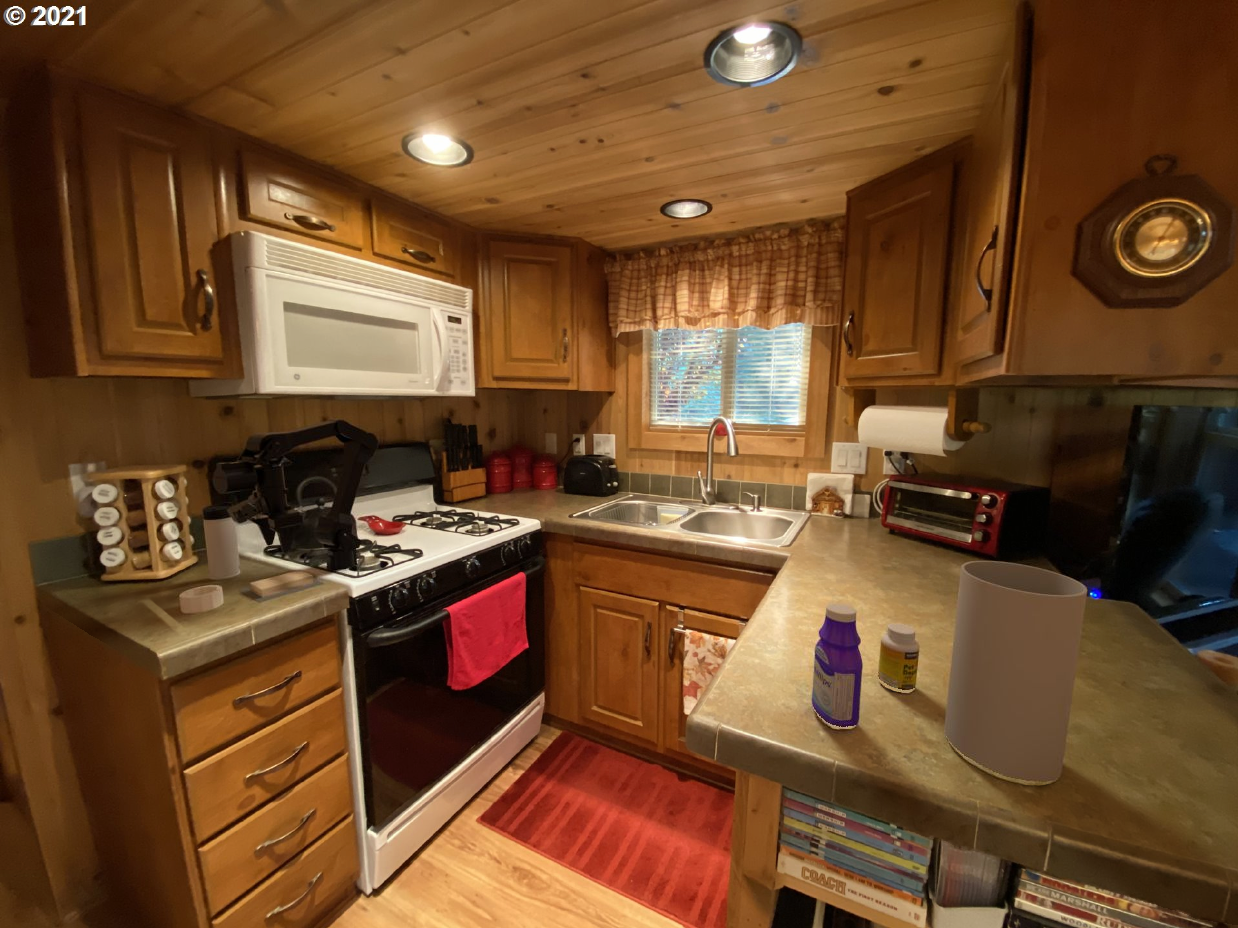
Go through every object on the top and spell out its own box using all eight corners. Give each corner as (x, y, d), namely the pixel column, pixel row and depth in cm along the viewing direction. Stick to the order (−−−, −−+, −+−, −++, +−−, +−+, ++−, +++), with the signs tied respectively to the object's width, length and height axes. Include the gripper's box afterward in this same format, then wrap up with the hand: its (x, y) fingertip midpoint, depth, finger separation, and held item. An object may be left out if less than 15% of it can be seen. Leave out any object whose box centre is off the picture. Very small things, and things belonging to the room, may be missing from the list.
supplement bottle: (902, 699, 77) (908, 639, 76) (870, 681, 82) (874, 624, 81) (922, 689, 80) (928, 631, 79) (890, 672, 85) (894, 617, 84)
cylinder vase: (973, 782, 61) (994, 592, 57) (927, 718, 73) (943, 558, 70) (1087, 796, 59) (1116, 600, 55) (1020, 727, 71) (1041, 563, 67)
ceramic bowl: (217, 601, 113) (215, 582, 113) (228, 608, 109) (226, 589, 109) (177, 612, 107) (175, 592, 107) (188, 620, 103) (185, 600, 103)
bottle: (804, 703, 76) (810, 598, 74) (838, 702, 77) (846, 597, 74) (827, 735, 69) (835, 620, 67) (865, 733, 69) (875, 618, 67)
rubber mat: (302, 577, 129) (302, 573, 128) (324, 587, 122) (324, 583, 122) (239, 594, 117) (239, 590, 117) (259, 606, 110) (259, 602, 110)
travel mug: (248, 574, 130) (240, 502, 127) (226, 584, 124) (217, 507, 121) (226, 573, 131) (219, 501, 128) (203, 583, 124) (194, 506, 121)
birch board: (300, 577, 126) (300, 569, 126) (313, 583, 122) (312, 575, 122) (250, 590, 117) (249, 582, 117) (262, 597, 113) (261, 589, 113)
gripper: (214, 487, 114) (223, 550, 117) (245, 496, 104) (253, 566, 106) (269, 479, 123) (276, 538, 126) (302, 488, 113) (308, 552, 115)
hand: (277, 548), depth 118 cm, fingers open, 9 cm apart
